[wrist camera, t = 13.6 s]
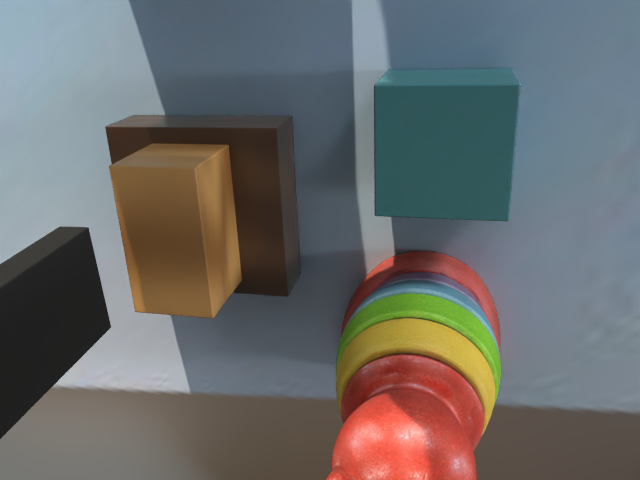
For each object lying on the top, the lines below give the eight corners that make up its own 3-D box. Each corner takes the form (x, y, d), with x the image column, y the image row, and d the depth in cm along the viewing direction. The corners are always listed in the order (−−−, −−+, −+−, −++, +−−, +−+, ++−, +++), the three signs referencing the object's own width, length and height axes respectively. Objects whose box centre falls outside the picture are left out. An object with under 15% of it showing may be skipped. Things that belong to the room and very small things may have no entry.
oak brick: (151, 143, 37) (108, 165, 32) (229, 144, 36) (195, 167, 31) (171, 275, 40) (134, 312, 36) (242, 280, 39) (213, 318, 35)
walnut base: (133, 115, 40) (104, 126, 37) (292, 116, 38) (276, 128, 35) (156, 264, 44) (133, 285, 41) (300, 273, 42) (287, 297, 39)
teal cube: (387, 69, 35) (374, 85, 30) (511, 67, 34) (520, 84, 29) (387, 183, 38) (374, 216, 33) (502, 186, 37) (508, 221, 31)
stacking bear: (339, 360, 44) (269, 575, 28) (352, 234, 40) (277, 402, 24) (490, 388, 42) (505, 635, 26) (519, 259, 38) (559, 459, 22)
